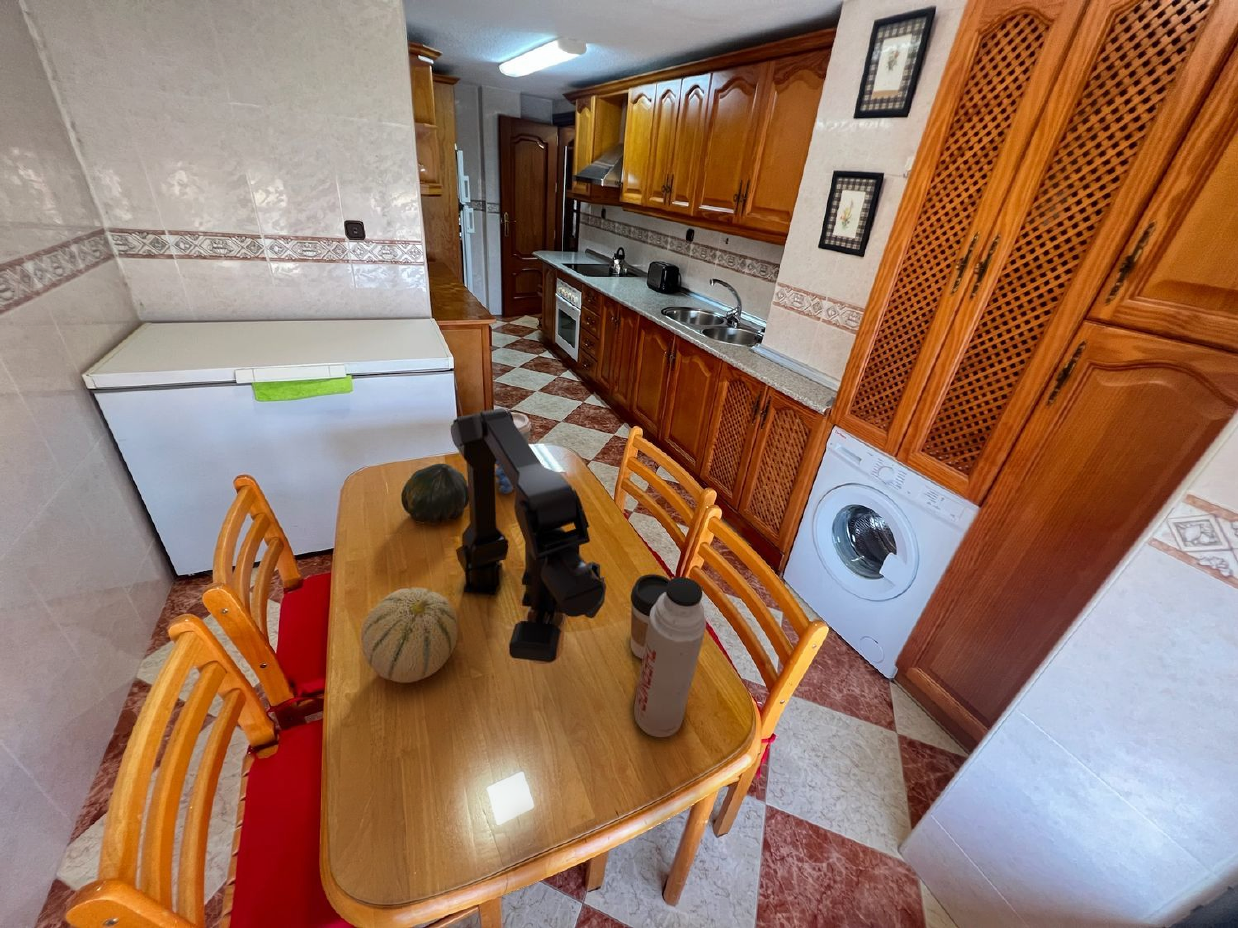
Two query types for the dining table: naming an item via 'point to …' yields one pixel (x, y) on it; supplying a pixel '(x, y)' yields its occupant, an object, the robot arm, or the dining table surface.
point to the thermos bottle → (670, 657)
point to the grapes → (503, 480)
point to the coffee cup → (644, 608)
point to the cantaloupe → (409, 634)
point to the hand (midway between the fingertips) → (544, 638)
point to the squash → (435, 494)
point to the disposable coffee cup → (522, 424)
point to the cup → (560, 622)
